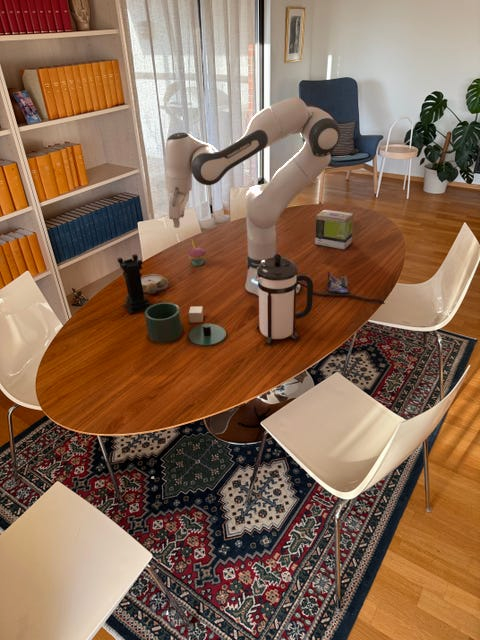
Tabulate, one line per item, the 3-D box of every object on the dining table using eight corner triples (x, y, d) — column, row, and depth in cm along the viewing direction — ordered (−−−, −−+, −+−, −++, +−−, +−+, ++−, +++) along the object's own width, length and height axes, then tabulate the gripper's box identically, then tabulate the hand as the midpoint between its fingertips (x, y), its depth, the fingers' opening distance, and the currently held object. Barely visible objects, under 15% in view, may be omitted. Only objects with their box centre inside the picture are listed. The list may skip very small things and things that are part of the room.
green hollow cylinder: (184, 325, 168) (181, 302, 163) (179, 343, 158) (176, 320, 153) (152, 325, 169) (148, 302, 163) (145, 344, 159) (141, 320, 154)
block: (203, 316, 172) (202, 306, 170) (202, 323, 168) (201, 312, 166) (191, 316, 172) (190, 306, 170) (190, 323, 169) (188, 312, 166)
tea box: (351, 242, 224) (354, 213, 216) (344, 250, 217) (346, 219, 209) (322, 237, 231) (324, 208, 223) (314, 244, 224) (315, 214, 216)
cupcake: (185, 266, 209) (182, 241, 203) (194, 258, 216) (191, 234, 209) (202, 268, 206) (200, 243, 200) (210, 260, 213) (208, 236, 207)
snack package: (357, 286, 187) (331, 278, 193) (358, 273, 183) (331, 265, 189) (344, 303, 181) (317, 294, 186) (345, 290, 176) (317, 281, 182)
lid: (227, 326, 166) (226, 315, 163) (224, 347, 155) (224, 336, 153) (191, 327, 167) (190, 315, 164) (186, 348, 156) (185, 336, 153)
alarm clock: (152, 271, 199) (173, 276, 189) (154, 282, 201) (175, 287, 191) (130, 281, 192) (150, 286, 182) (133, 292, 194) (153, 298, 184)
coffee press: (289, 352, 151) (291, 269, 135) (247, 339, 159) (244, 258, 143) (311, 326, 164) (316, 247, 148) (271, 315, 171) (271, 238, 155)
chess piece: (131, 314, 176) (121, 266, 165) (125, 305, 182) (115, 258, 171) (151, 308, 179) (143, 261, 168) (144, 299, 185) (137, 253, 174)
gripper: (183, 194, 150) (183, 234, 158) (192, 175, 167) (192, 212, 175) (163, 193, 150) (164, 232, 158) (175, 173, 167) (175, 210, 175)
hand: (179, 221), depth 167 cm, fingers open, 8 cm apart
